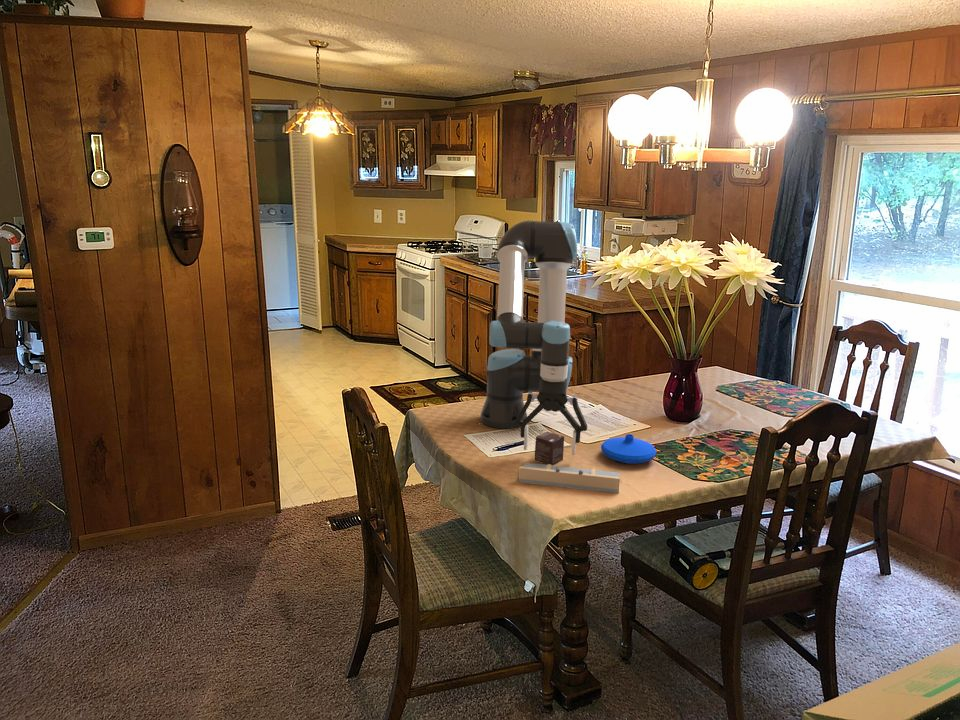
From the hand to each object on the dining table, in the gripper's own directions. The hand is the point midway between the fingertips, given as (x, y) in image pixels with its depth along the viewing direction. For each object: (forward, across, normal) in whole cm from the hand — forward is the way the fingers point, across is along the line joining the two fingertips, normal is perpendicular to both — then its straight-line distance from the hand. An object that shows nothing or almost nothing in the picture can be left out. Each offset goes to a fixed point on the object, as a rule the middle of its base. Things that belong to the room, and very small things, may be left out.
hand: (549, 450), depth 212 cm
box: (+3, 0, 0) cm, 3 cm away
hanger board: (+3, +7, -11) cm, 13 cm away
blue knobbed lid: (+3, +22, +8) cm, 24 cm away
